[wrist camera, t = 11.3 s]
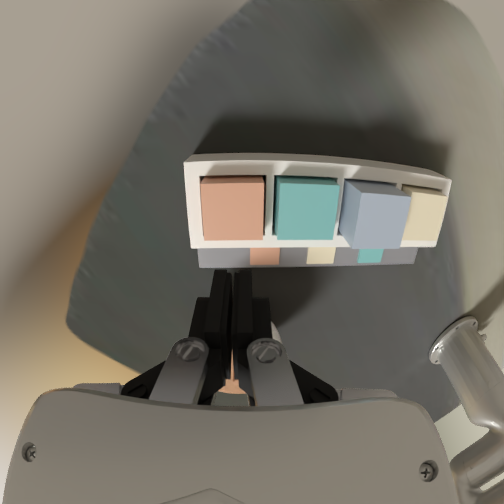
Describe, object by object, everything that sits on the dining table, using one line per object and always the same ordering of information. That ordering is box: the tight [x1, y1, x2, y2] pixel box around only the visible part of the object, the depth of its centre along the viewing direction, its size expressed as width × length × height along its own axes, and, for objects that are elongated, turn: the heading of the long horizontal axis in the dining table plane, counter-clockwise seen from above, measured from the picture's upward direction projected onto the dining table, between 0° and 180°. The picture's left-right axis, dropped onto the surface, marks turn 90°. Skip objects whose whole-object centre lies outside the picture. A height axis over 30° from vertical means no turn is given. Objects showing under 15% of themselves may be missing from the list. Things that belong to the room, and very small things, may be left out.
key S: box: [338, 178, 411, 249], centre depth 22 cm, size 5×5×5 cm
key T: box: [272, 175, 340, 240], centre depth 23 cm, size 5×5×5 cm
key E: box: [401, 184, 448, 241], centre depth 24 cm, size 5×5×5 cm
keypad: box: [184, 153, 452, 268], centre depth 25 cm, size 26×12×4 cm, turn 89°
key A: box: [200, 175, 264, 241], centre depth 23 cm, size 5×5×5 cm
